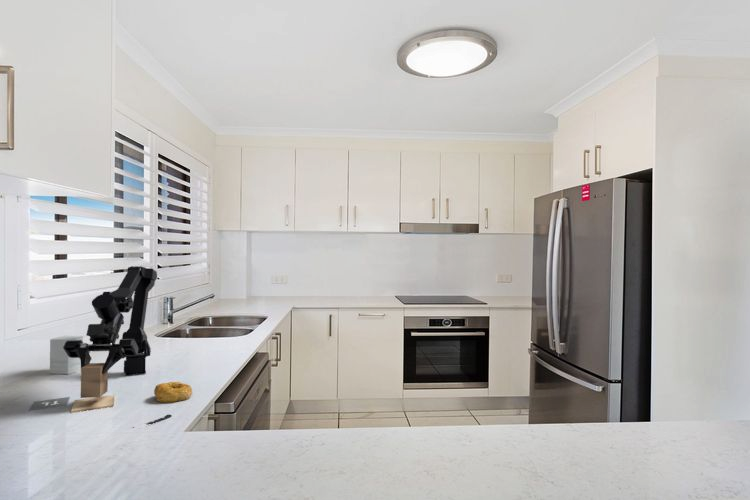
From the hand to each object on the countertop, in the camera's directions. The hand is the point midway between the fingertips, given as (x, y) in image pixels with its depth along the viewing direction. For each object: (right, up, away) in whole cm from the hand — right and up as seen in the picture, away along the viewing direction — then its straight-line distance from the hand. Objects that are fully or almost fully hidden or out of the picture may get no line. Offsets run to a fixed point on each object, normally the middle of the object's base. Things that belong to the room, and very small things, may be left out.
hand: (92, 373), depth 122 cm
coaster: (0, -9, +1) cm, 9 cm away
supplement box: (-33, -10, +35) cm, 49 cm away
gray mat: (-13, -9, +1) cm, 16 cm away
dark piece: (+21, -10, -15) cm, 27 cm away
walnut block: (0, -6, +1) cm, 7 cm away
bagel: (+19, -10, +8) cm, 23 cm away
